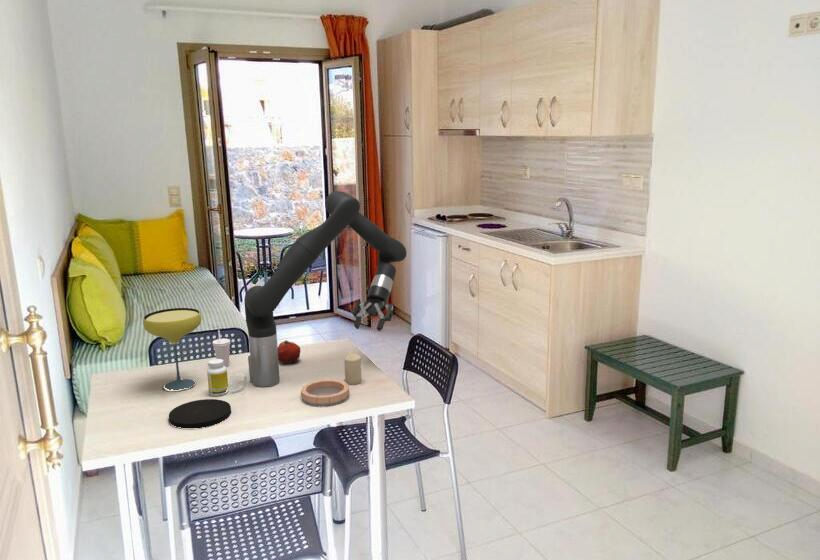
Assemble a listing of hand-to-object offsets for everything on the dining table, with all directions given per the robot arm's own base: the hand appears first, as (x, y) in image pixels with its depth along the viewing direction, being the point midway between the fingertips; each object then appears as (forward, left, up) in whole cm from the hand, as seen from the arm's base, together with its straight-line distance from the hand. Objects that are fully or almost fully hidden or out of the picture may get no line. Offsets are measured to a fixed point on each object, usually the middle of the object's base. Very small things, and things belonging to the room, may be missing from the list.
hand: (367, 329), depth 225 cm
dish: (0, -27, -15) cm, 31 cm away
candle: (+1, -12, -16) cm, 19 cm away
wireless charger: (-26, -55, -16) cm, 63 cm away
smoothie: (-51, -19, -16) cm, 57 cm away
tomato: (-32, -5, -16) cm, 36 cm away
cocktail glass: (-51, -40, -16) cm, 66 cm away
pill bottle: (-34, -39, -16) cm, 54 cm away
